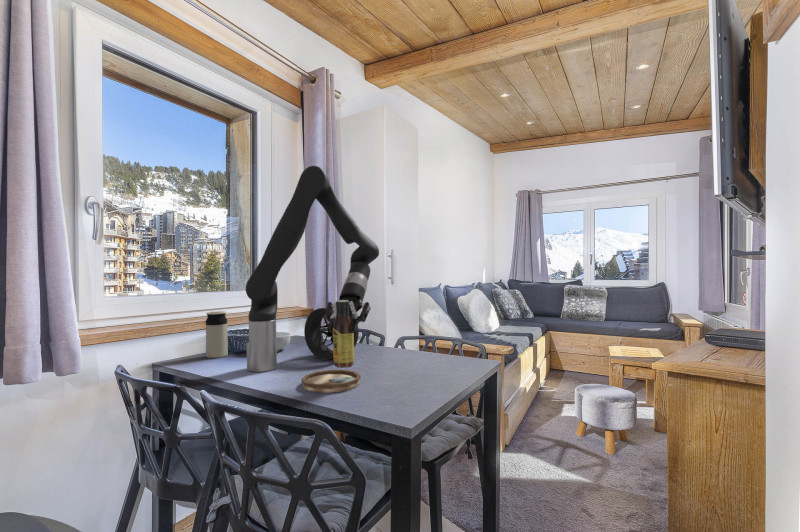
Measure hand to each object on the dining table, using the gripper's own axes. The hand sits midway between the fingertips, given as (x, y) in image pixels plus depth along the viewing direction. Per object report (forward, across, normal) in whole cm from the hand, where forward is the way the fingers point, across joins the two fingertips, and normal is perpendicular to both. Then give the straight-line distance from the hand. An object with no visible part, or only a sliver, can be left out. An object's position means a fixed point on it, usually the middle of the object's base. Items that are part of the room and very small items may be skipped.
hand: (341, 331), depth 120 cm
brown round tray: (+11, -4, +12) cm, 17 cm away
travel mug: (-8, -67, +31) cm, 74 cm away
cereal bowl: (-18, -51, +42) cm, 68 cm away
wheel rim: (-13, -19, +36) cm, 43 cm away
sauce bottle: (+7, 0, +9) cm, 11 cm away
